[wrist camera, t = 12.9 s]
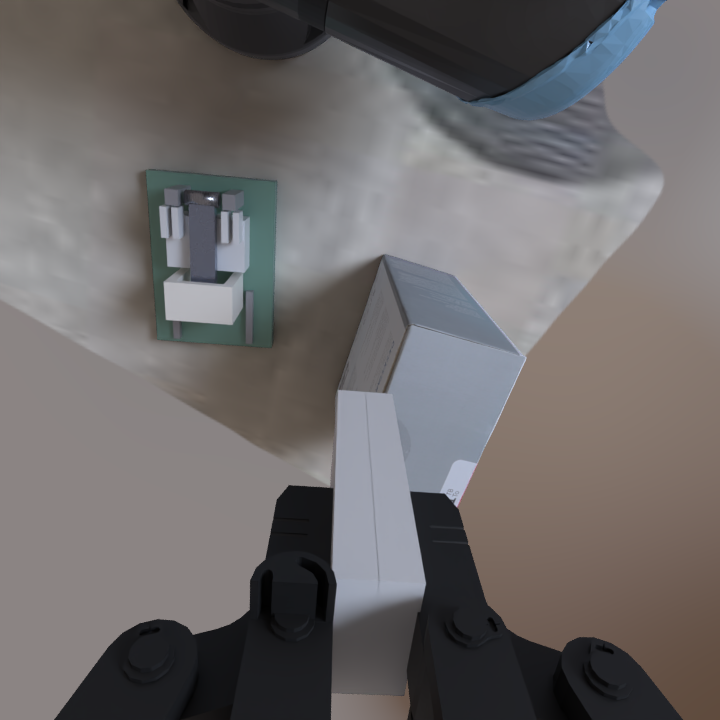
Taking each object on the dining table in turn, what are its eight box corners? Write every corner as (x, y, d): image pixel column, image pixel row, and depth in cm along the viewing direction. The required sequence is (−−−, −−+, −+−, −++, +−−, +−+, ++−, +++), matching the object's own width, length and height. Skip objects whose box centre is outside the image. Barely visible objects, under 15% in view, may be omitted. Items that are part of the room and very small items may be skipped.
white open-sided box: (181, 267, 46) (163, 281, 41) (243, 272, 46) (232, 287, 42) (182, 302, 47) (165, 319, 42) (243, 307, 47) (232, 324, 43)
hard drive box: (405, 414, 54) (435, 558, 36) (334, 395, 53) (327, 534, 35) (460, 274, 48) (530, 359, 30) (381, 249, 47) (404, 323, 29)
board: (150, 169, 44) (126, 173, 39) (277, 180, 44) (268, 186, 40) (161, 335, 50) (142, 356, 45) (272, 343, 50) (265, 365, 46)
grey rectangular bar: (187, 188, 41) (183, 189, 40) (220, 192, 41) (217, 192, 40) (191, 300, 44) (187, 303, 43) (221, 302, 45) (218, 306, 43)
